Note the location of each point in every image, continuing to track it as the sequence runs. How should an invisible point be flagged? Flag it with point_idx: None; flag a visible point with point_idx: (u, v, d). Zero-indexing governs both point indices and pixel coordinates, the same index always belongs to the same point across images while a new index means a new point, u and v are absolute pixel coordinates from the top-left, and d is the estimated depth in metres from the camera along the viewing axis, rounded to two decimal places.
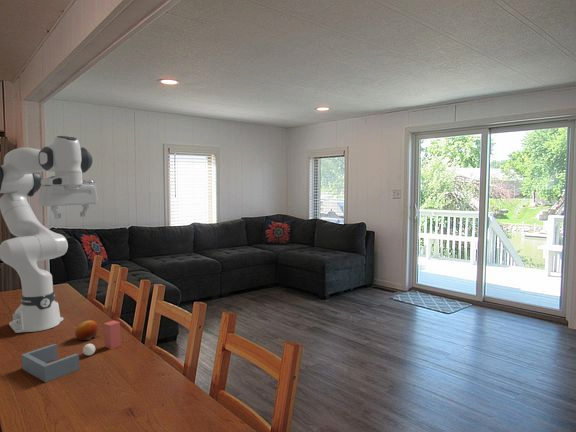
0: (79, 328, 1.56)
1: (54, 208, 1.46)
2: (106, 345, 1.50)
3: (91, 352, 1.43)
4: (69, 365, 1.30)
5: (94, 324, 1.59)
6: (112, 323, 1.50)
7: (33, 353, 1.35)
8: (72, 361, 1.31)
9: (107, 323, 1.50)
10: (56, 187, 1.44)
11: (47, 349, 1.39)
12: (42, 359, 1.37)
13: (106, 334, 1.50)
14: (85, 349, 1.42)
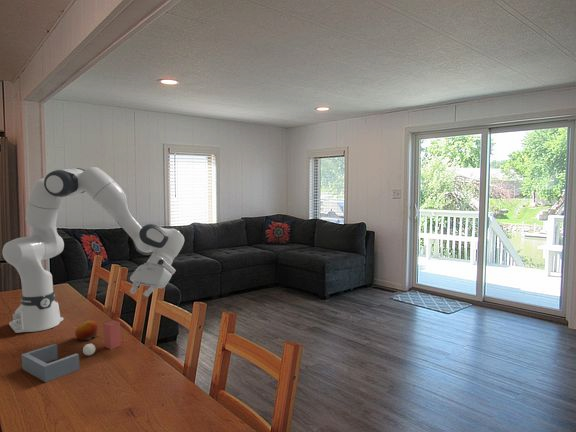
0: (79, 328, 1.56)
1: None
2: (106, 345, 1.50)
3: (91, 352, 1.43)
4: (69, 365, 1.30)
5: (94, 324, 1.59)
6: (112, 323, 1.50)
7: (33, 353, 1.35)
8: (72, 361, 1.31)
9: (107, 323, 1.50)
10: None
11: (47, 349, 1.39)
12: (42, 359, 1.37)
13: (106, 334, 1.50)
14: (85, 349, 1.42)
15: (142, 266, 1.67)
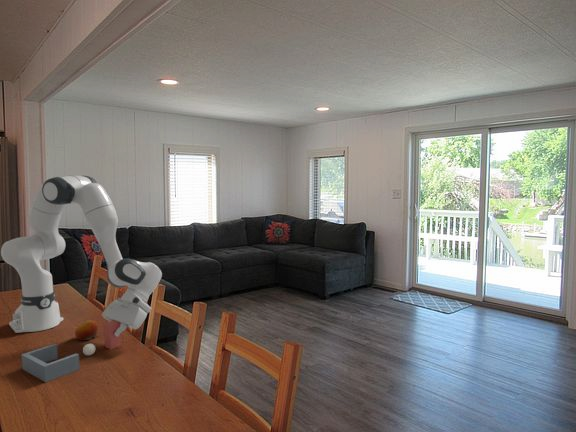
0: (79, 328, 1.56)
1: None
2: (106, 345, 1.50)
3: (91, 352, 1.43)
4: (69, 365, 1.30)
5: (94, 324, 1.59)
6: (112, 323, 1.50)
7: (33, 353, 1.35)
8: (72, 361, 1.31)
9: (107, 323, 1.50)
10: None
11: (47, 349, 1.39)
12: (42, 359, 1.37)
13: (106, 334, 1.50)
14: (85, 349, 1.42)
15: (116, 302, 1.59)
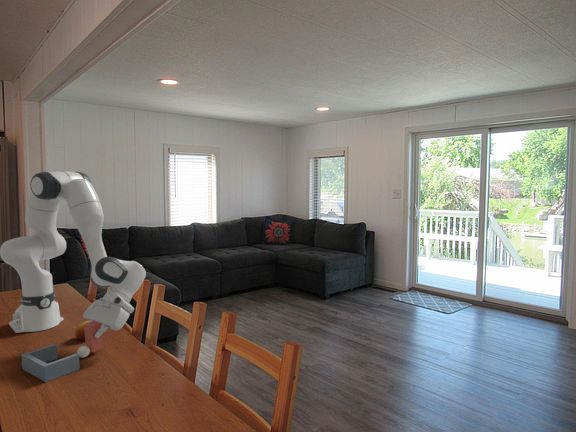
0: (79, 328, 1.56)
1: None
2: None
3: (87, 354, 1.41)
4: (69, 365, 1.30)
5: None
6: (92, 324, 1.44)
7: (33, 353, 1.35)
8: (72, 361, 1.31)
9: (87, 324, 1.44)
10: None
11: (47, 349, 1.39)
12: (42, 359, 1.37)
13: (86, 336, 1.44)
14: (80, 356, 1.41)
15: (97, 302, 1.53)
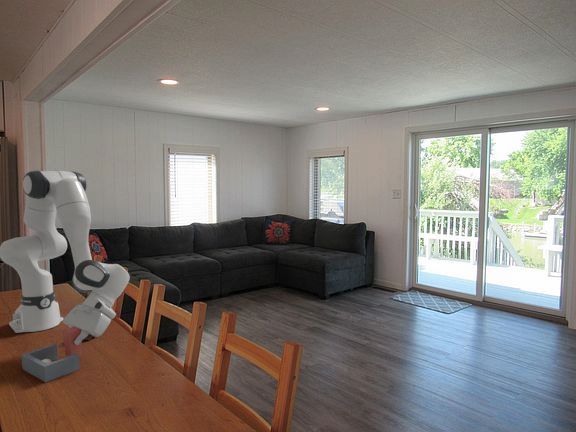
0: None
1: None
2: (67, 354, 1.38)
3: None
4: (69, 365, 1.30)
5: None
6: (72, 330, 1.38)
7: (33, 353, 1.35)
8: (72, 361, 1.31)
9: (66, 330, 1.38)
10: None
11: (47, 349, 1.39)
12: (42, 359, 1.37)
13: (65, 343, 1.38)
14: None
15: (78, 307, 1.47)
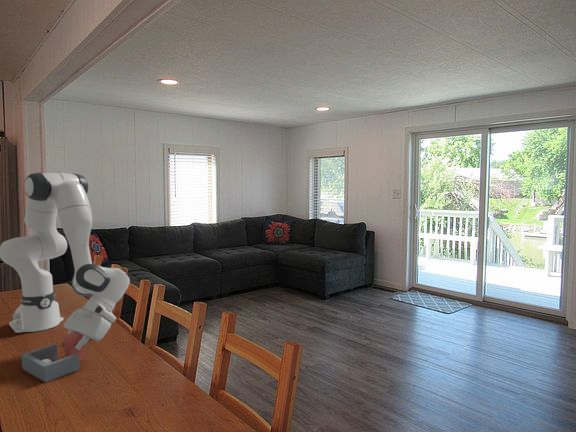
0: None
1: None
2: None
3: None
4: (69, 365, 1.30)
5: None
6: (73, 335, 1.38)
7: (33, 353, 1.35)
8: (72, 361, 1.31)
9: (67, 336, 1.38)
10: None
11: (47, 349, 1.39)
12: (42, 359, 1.37)
13: (66, 348, 1.38)
14: None
15: (78, 311, 1.47)
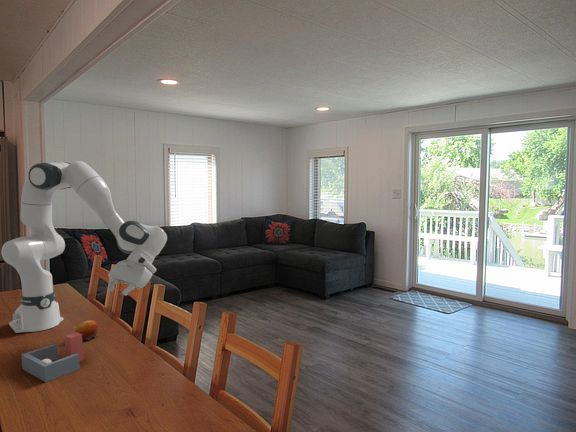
0: (79, 328, 1.56)
1: None
2: None
3: None
4: (69, 365, 1.30)
5: (94, 324, 1.59)
6: (73, 335, 1.38)
7: (33, 353, 1.35)
8: (72, 361, 1.31)
9: (68, 335, 1.38)
10: None
11: (47, 349, 1.39)
12: (42, 359, 1.37)
13: (66, 348, 1.38)
14: None
15: (121, 263, 1.61)
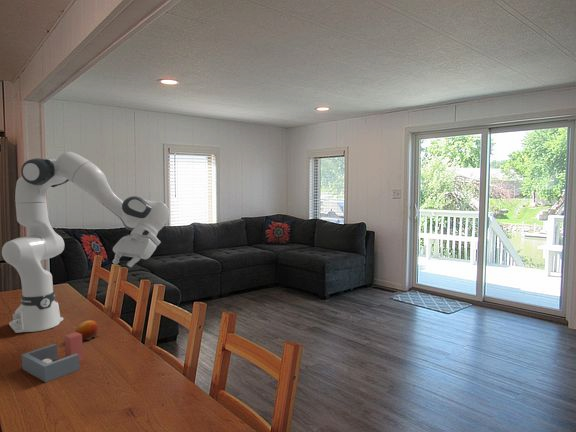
0: (79, 328, 1.56)
1: None
2: None
3: None
4: (69, 365, 1.30)
5: (94, 324, 1.59)
6: (73, 335, 1.38)
7: (33, 353, 1.35)
8: (72, 361, 1.31)
9: (68, 335, 1.38)
10: None
11: (47, 349, 1.39)
12: (42, 359, 1.37)
13: (66, 348, 1.38)
14: None
15: (126, 237, 1.63)
